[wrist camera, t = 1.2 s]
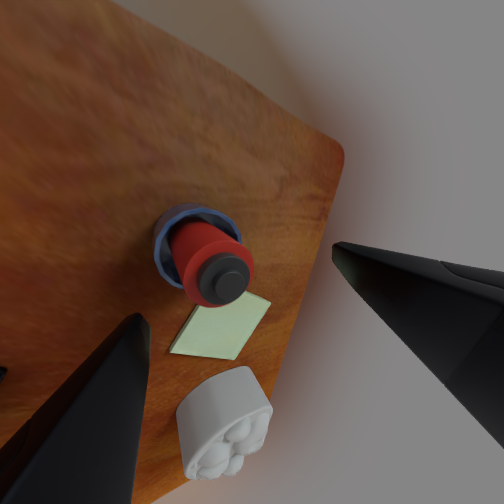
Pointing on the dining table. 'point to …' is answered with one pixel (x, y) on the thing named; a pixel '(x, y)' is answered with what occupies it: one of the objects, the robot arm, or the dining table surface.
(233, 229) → the cup
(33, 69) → the dining table surface
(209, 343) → the tile
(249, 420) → the lumpy-topped squat cylinder
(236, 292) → the bottle
